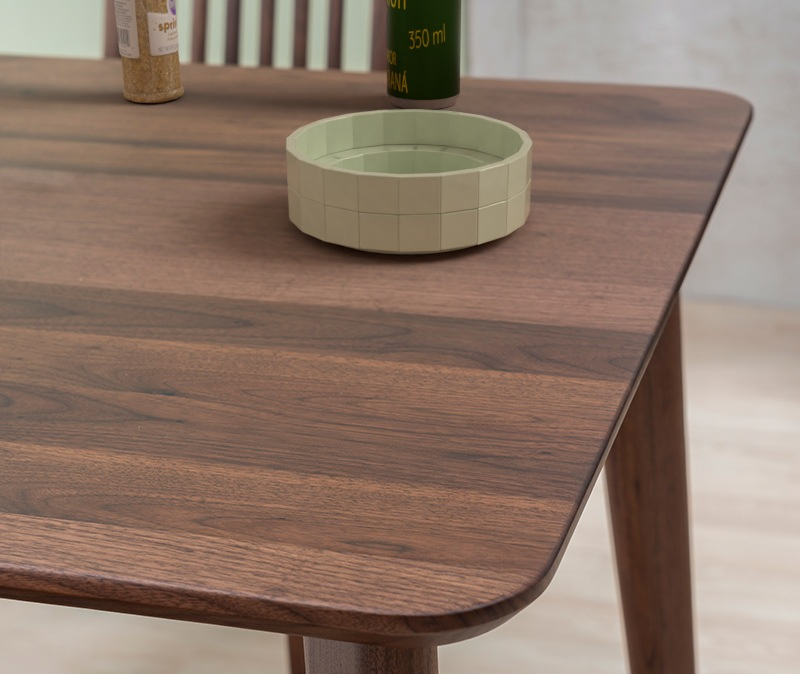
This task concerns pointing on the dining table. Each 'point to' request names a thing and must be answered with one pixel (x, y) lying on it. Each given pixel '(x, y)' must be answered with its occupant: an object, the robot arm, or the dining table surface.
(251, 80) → the dining table surface
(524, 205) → the dish
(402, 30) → the green drink can
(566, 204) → the dining table surface
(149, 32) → the sprinkles bottle
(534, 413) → the dining table surface
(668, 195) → the dining table surface
